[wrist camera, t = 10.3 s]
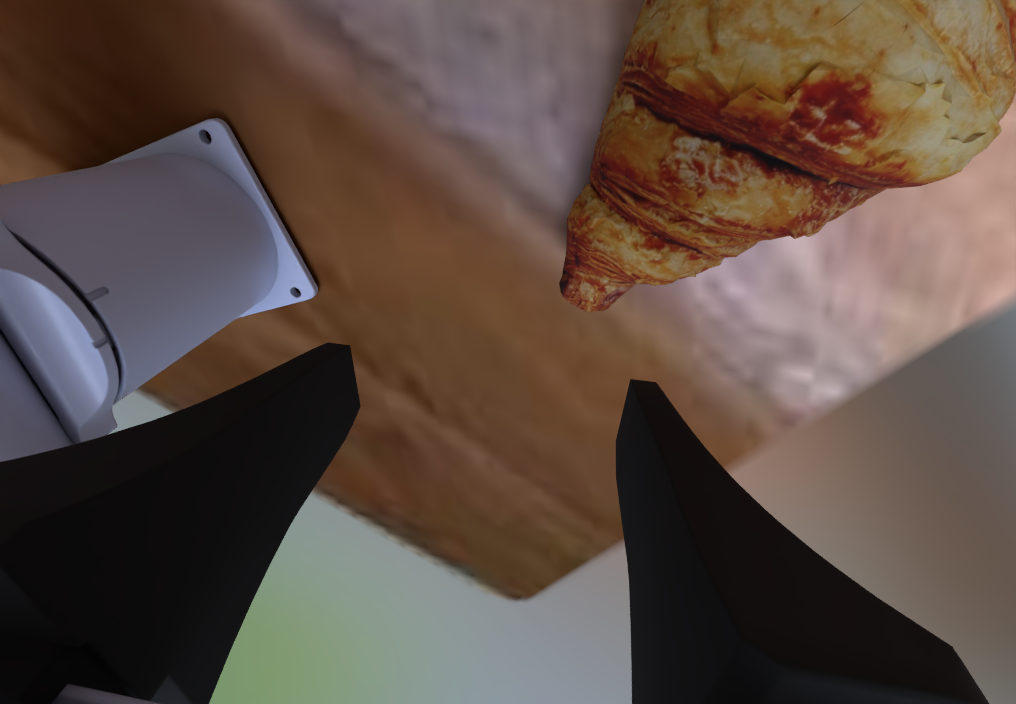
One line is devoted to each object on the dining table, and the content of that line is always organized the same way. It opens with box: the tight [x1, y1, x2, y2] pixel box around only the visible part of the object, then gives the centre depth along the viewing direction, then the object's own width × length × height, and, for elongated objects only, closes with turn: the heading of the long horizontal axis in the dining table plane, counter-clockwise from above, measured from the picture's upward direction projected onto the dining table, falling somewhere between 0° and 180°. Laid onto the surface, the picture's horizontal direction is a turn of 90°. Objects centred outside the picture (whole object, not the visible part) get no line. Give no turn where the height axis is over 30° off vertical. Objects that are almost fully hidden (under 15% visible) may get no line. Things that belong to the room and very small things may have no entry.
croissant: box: [559, 0, 1016, 312], centre depth 12 cm, size 21×10×8 cm
